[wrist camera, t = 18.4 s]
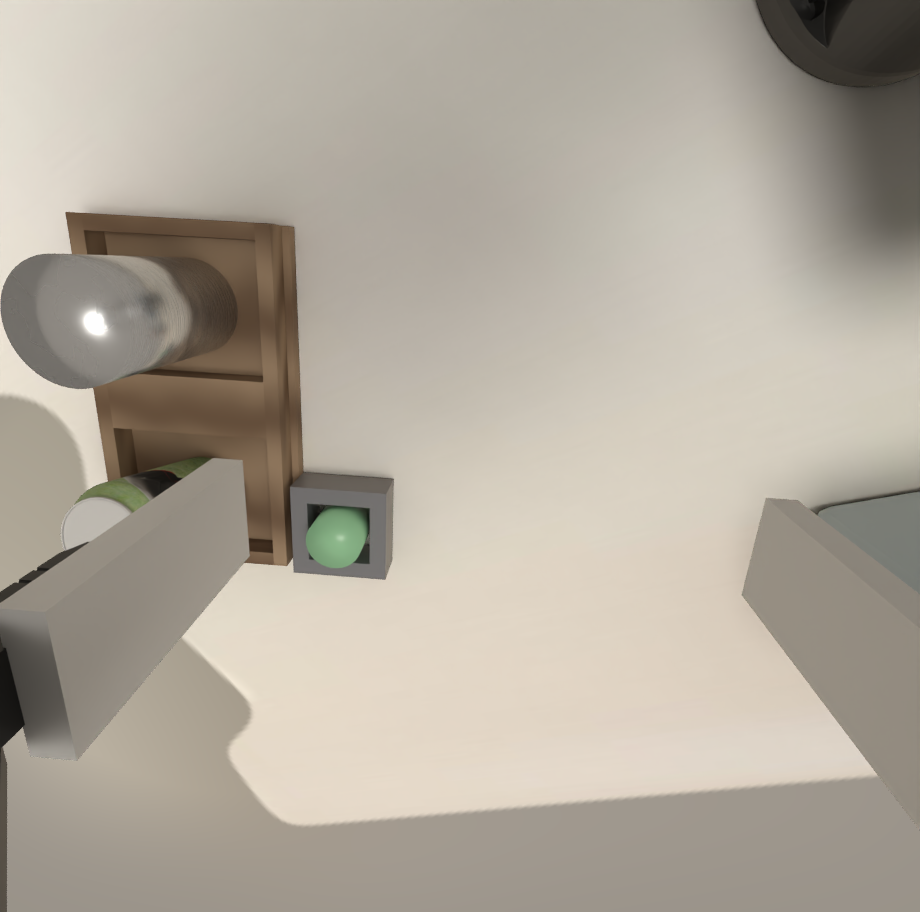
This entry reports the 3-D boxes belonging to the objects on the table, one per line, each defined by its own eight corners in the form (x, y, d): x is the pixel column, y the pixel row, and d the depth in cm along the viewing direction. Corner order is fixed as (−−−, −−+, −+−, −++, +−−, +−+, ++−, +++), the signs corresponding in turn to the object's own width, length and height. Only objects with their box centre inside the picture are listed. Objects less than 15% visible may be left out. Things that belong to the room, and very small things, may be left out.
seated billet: (140, 254, 38) (-13, 250, 26) (234, 260, 37) (120, 257, 26) (152, 350, 40) (15, 384, 28) (241, 356, 39) (138, 392, 28)
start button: (323, 491, 44) (304, 515, 39) (374, 495, 43) (361, 520, 39) (324, 537, 45) (306, 565, 41) (373, 541, 45) (361, 570, 40)
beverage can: (205, 540, 44) (109, 631, 33) (143, 464, 42) (19, 532, 31) (268, 501, 43) (191, 582, 31) (207, 422, 41) (102, 476, 30)
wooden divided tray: (90, 215, 38) (57, 211, 35) (294, 227, 37) (277, 224, 35) (136, 534, 46) (113, 552, 43) (306, 547, 45) (293, 566, 42)
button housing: (303, 472, 43) (289, 486, 40) (393, 478, 43) (386, 494, 40) (306, 553, 45) (293, 572, 42) (392, 559, 45) (385, 579, 42)
